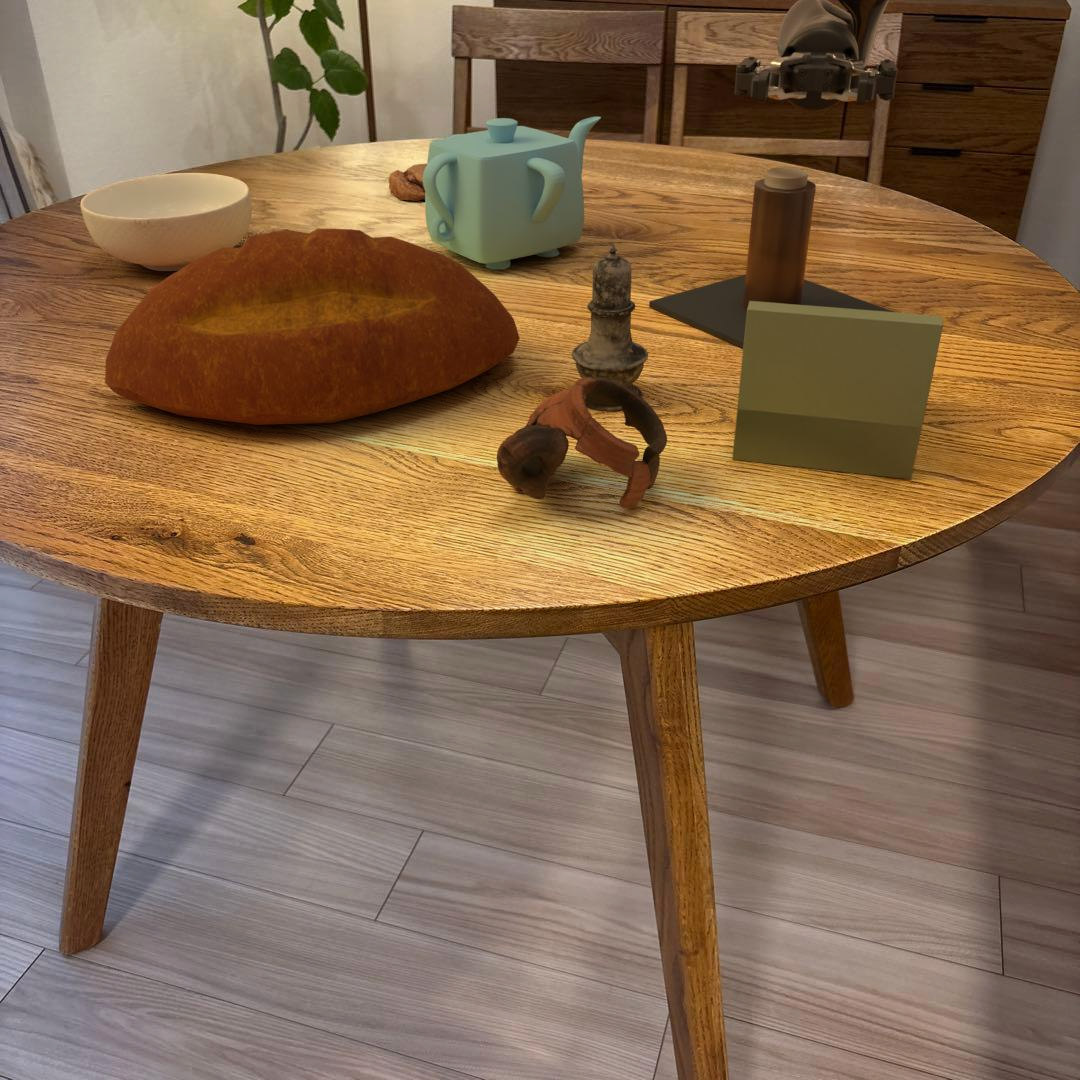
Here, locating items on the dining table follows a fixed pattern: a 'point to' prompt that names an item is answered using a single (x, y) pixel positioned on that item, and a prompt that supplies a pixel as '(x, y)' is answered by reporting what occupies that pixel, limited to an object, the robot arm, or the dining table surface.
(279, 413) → the bread
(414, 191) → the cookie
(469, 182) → the teapot
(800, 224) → the pepper mill
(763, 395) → the olive piece
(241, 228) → the cereal bowl
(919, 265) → the dining table surface
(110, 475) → the dining table surface
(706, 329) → the slate mat
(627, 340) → the salt shaker
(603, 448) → the brown leather headphones
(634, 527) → the dining table surface
